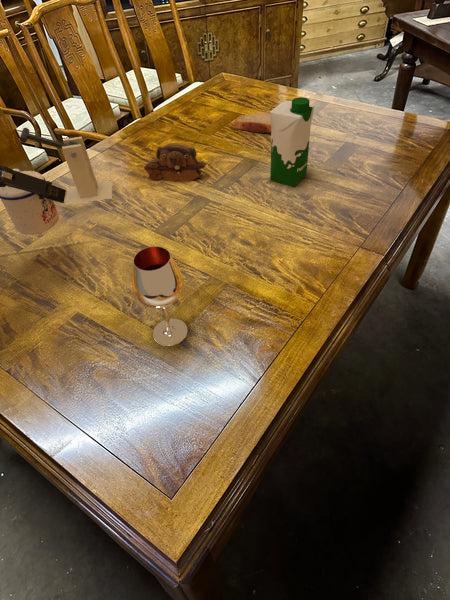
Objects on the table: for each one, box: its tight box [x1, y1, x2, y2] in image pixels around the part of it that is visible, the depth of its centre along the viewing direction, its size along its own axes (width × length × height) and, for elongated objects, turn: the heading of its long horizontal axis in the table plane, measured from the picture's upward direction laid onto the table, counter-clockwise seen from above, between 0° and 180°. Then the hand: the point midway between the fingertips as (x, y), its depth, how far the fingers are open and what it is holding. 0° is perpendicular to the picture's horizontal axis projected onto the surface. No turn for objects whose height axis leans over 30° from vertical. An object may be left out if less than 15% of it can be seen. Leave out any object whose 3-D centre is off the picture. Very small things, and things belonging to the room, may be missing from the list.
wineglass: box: [131, 245, 188, 347], centre depth 70 cm, size 8×8×18 cm
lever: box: [19, 127, 78, 150], centre depth 99 cm, size 13×5×2 cm, turn 101°
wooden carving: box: [143, 142, 207, 182], centre depth 109 cm, size 16×5×10 cm, turn 88°
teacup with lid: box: [0, 168, 60, 236], centre depth 82 cm, size 12×9×12 cm
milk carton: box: [269, 96, 315, 188], centre depth 103 cm, size 9×9×20 cm
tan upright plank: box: [61, 136, 113, 206], centre depth 105 cm, size 12×9×15 cm
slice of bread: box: [232, 111, 271, 134], centre depth 129 cm, size 18×18×4 cm
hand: (43, 193), depth 85 cm, fingers closed on teacup with lid, 9 cm apart
